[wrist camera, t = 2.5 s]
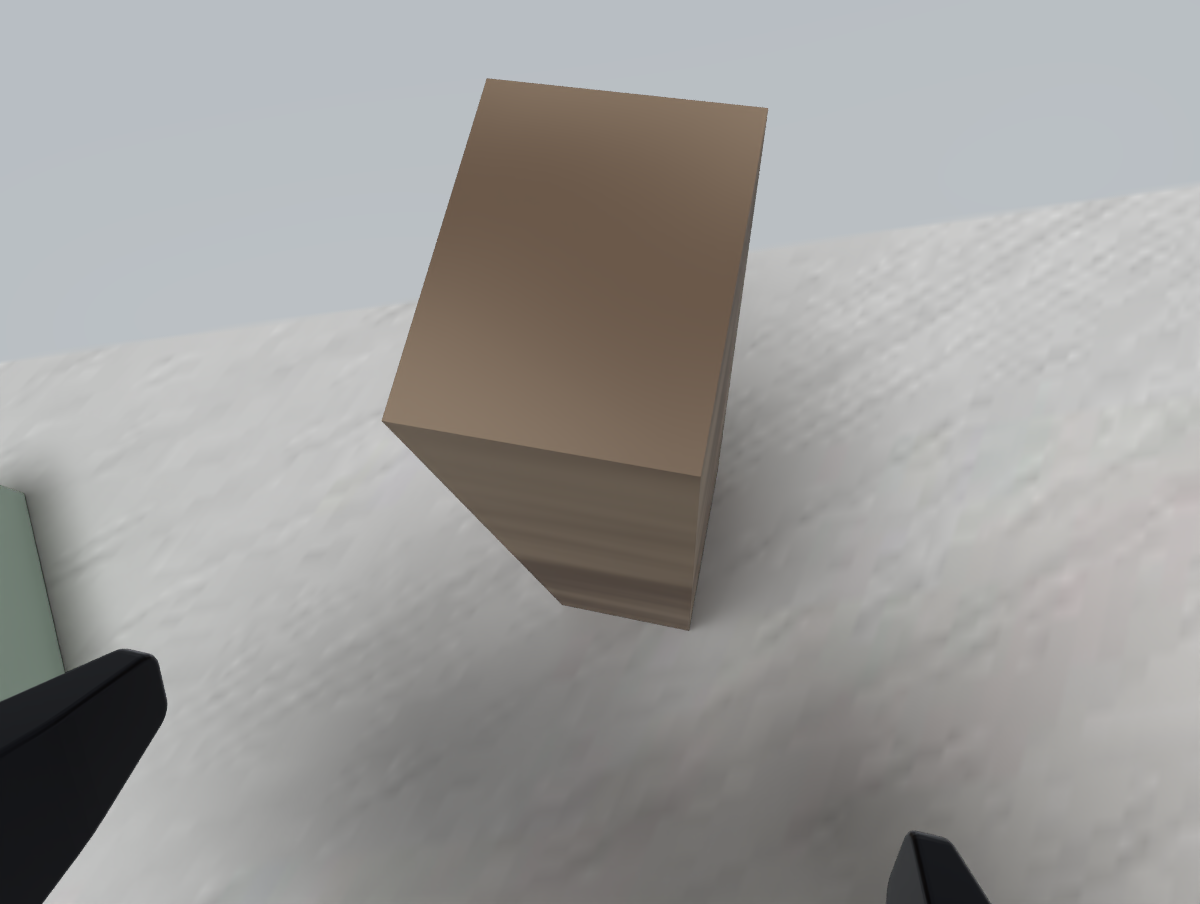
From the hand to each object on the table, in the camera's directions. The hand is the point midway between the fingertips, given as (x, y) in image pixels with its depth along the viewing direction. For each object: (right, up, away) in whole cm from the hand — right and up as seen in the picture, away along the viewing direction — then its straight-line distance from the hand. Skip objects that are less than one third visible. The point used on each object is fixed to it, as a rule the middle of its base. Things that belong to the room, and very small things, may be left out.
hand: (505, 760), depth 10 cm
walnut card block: (+2, +1, +13) cm, 13 cm away
